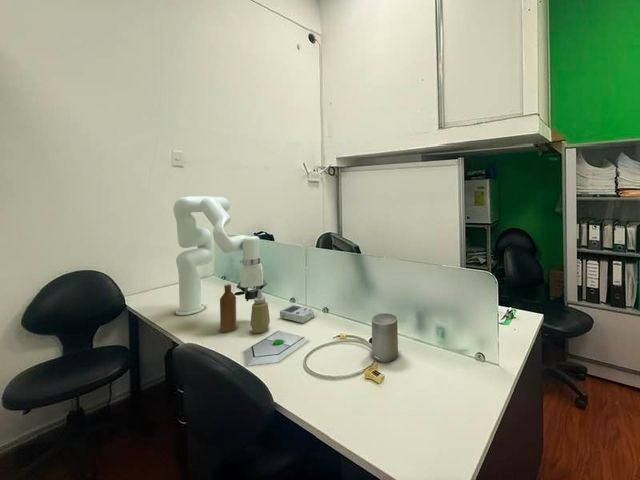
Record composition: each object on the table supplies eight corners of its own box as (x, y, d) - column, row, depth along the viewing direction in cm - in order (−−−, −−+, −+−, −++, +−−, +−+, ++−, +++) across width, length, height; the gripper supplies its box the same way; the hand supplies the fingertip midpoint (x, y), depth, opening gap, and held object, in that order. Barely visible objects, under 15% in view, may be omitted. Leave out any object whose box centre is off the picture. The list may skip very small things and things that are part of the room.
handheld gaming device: (302, 324, 137) (302, 315, 137) (279, 318, 144) (279, 310, 144) (315, 317, 145) (315, 309, 145) (292, 311, 152) (292, 304, 152)
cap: (247, 298, 144) (246, 290, 144) (255, 296, 146) (255, 288, 146) (249, 300, 141) (249, 292, 141) (258, 298, 143) (258, 290, 143)
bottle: (222, 327, 135) (221, 283, 135) (237, 325, 137) (236, 282, 137) (218, 333, 129) (218, 288, 129) (234, 331, 131) (234, 286, 131)
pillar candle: (394, 346, 116) (394, 308, 116) (400, 361, 106) (399, 319, 106) (370, 349, 114) (369, 310, 114) (373, 364, 105) (373, 321, 104)
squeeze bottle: (263, 335, 127) (262, 293, 127) (246, 334, 128) (245, 292, 128) (273, 327, 135) (273, 287, 134) (257, 325, 136) (257, 286, 136)
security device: (230, 360, 108) (230, 354, 108) (276, 333, 129) (276, 328, 129) (264, 372, 101) (264, 366, 101) (307, 341, 121) (307, 336, 121)
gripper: (231, 265, 137) (232, 304, 137) (269, 262, 142) (270, 300, 142) (234, 261, 145) (235, 299, 145) (270, 258, 149) (271, 295, 149)
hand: (252, 299), depth 143 cm, fingers closed on cap, 3 cm apart
